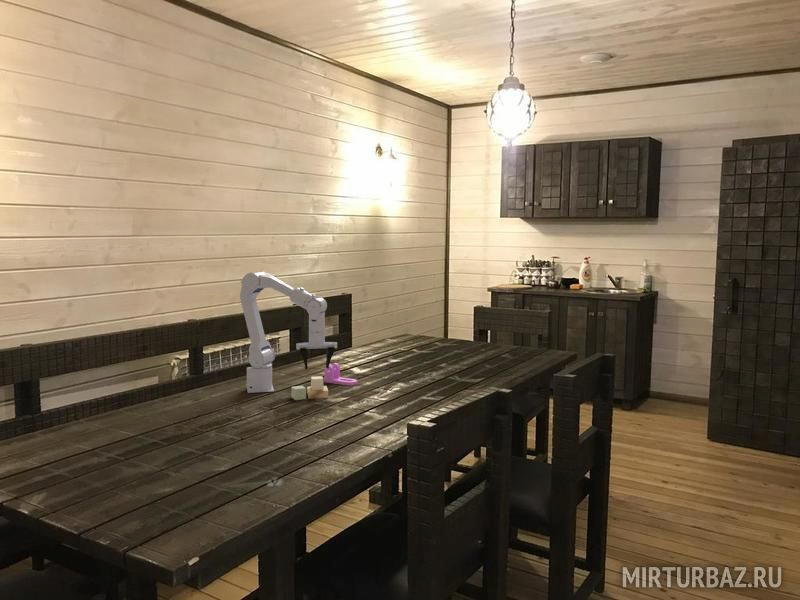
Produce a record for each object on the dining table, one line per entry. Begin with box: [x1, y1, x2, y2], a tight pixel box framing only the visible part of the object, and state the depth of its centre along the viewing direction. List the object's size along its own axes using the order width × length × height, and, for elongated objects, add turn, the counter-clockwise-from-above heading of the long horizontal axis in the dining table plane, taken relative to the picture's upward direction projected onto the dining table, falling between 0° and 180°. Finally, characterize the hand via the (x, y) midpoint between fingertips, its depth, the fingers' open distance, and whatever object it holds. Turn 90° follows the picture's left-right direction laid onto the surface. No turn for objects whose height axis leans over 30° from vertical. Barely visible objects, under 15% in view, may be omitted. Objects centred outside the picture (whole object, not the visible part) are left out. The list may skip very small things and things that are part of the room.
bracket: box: [323, 362, 358, 386], centre depth 250 cm, size 13×6×7 cm, turn 62°
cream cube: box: [310, 375, 324, 390], centre depth 230 cm, size 4×4×4 cm
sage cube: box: [290, 385, 307, 401], centre depth 227 cm, size 4×4×4 cm
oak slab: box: [306, 385, 329, 400], centre depth 231 cm, size 7×7×3 cm
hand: (316, 368), depth 231 cm, fingers open, 7 cm apart
